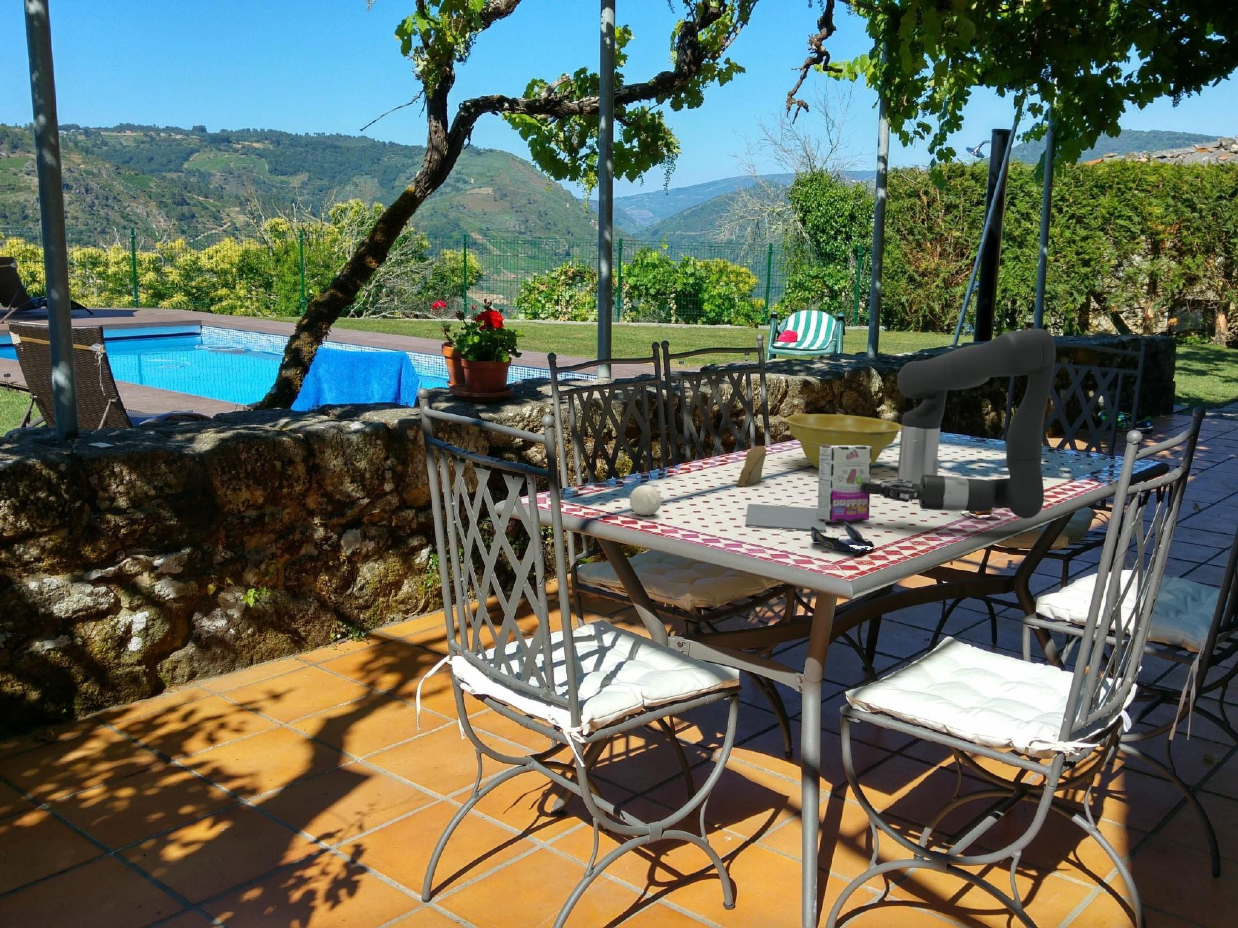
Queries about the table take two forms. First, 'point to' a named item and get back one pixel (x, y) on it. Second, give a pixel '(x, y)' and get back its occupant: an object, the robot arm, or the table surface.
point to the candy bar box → (843, 482)
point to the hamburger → (982, 512)
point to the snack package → (842, 543)
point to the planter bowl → (841, 433)
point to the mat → (783, 517)
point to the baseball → (645, 500)
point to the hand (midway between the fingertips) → (861, 487)
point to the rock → (752, 467)
